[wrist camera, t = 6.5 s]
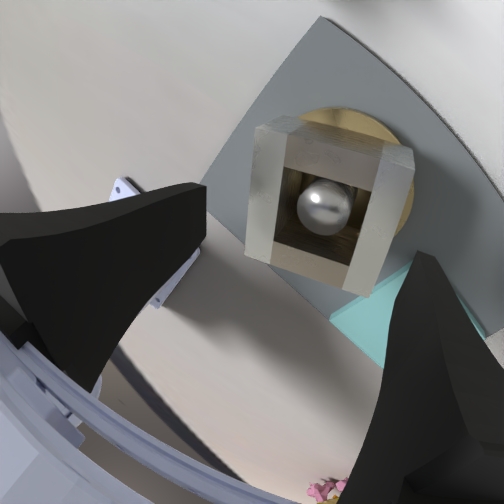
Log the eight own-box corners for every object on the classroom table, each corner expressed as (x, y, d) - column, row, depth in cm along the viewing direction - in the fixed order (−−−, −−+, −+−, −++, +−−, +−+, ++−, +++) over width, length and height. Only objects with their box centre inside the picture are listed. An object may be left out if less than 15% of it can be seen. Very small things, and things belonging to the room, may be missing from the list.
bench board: (396, 376, 20) (395, 380, 20) (195, 194, 19) (191, 196, 19) (551, 290, 12) (553, 294, 11) (322, 16, 11) (320, 15, 10)
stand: (397, 374, 19) (387, 423, 16) (331, 314, 19) (311, 363, 16) (484, 332, 15) (489, 386, 12) (422, 252, 14) (422, 305, 11)
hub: (343, 267, 17) (326, 311, 14) (246, 178, 17) (210, 206, 14) (443, 186, 12) (453, 222, 10) (330, 74, 12) (308, 76, 9)
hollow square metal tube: (377, 258, 15) (368, 298, 12) (270, 223, 16) (244, 255, 14) (412, 148, 11) (415, 170, 9) (283, 114, 13) (254, 127, 11)
